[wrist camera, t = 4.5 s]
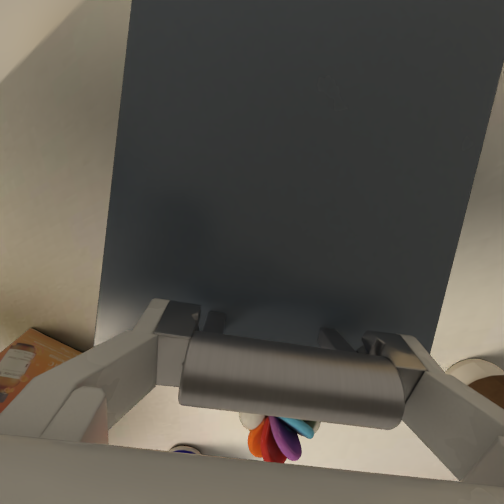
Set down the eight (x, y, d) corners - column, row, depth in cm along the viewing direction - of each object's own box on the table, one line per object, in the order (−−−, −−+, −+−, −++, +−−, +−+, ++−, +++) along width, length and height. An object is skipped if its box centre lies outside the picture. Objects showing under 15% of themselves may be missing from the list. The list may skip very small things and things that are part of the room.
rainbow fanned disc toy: (229, 400, 35) (224, 461, 28) (287, 364, 32) (296, 423, 26) (270, 431, 37) (274, 494, 31) (326, 400, 35) (343, 461, 28)
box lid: (405, 393, 12) (528, 519, 7) (101, 354, 11) (-15, 466, 6) (501, 5, 10) (756, -204, 5) (151, -81, 9) (48, -441, 4)
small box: (96, 356, 32) (28, 451, 22) (79, 383, 34) (9, 482, 24) (29, 325, 30) (-77, 415, 20) (15, 355, 32) (-88, 450, 22)
